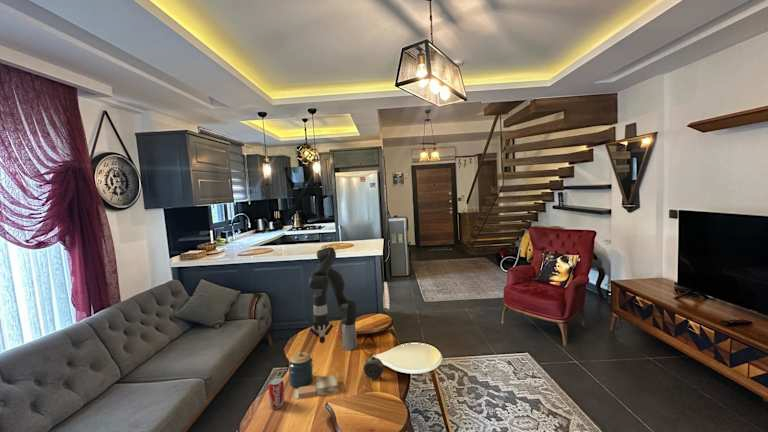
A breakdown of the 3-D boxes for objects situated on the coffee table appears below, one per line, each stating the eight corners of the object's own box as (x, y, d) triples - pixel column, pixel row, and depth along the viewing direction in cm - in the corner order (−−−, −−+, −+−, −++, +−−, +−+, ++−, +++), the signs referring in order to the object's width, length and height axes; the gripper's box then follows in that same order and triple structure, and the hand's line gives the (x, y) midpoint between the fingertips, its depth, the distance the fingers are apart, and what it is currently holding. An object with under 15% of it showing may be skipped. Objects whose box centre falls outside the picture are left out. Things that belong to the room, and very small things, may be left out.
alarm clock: (384, 377, 182) (383, 350, 181) (382, 383, 177) (381, 355, 176) (365, 375, 185) (364, 348, 183) (363, 381, 179) (362, 353, 178)
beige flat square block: (335, 381, 180) (335, 374, 180) (338, 391, 170) (337, 384, 170) (315, 385, 177) (315, 378, 177) (317, 396, 167) (316, 388, 167)
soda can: (271, 401, 164) (270, 377, 163) (285, 399, 165) (284, 375, 164) (267, 410, 157) (266, 385, 156) (282, 409, 158) (281, 384, 157)
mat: (315, 386, 176) (315, 385, 176) (317, 394, 168) (317, 394, 168) (295, 390, 173) (295, 389, 173) (295, 399, 165) (295, 398, 165)
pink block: (315, 387, 174) (315, 384, 174) (316, 394, 168) (316, 391, 168) (298, 390, 172) (298, 387, 172) (298, 397, 166) (298, 394, 166)
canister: (292, 391, 172) (290, 360, 171) (287, 379, 183) (286, 349, 182) (315, 384, 178) (314, 353, 177) (309, 372, 189) (308, 344, 188)
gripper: (331, 307, 178) (333, 337, 180) (307, 311, 174) (309, 341, 176) (333, 312, 171) (335, 343, 173) (308, 316, 167) (310, 348, 169)
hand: (322, 342), depth 174 cm, fingers closed
